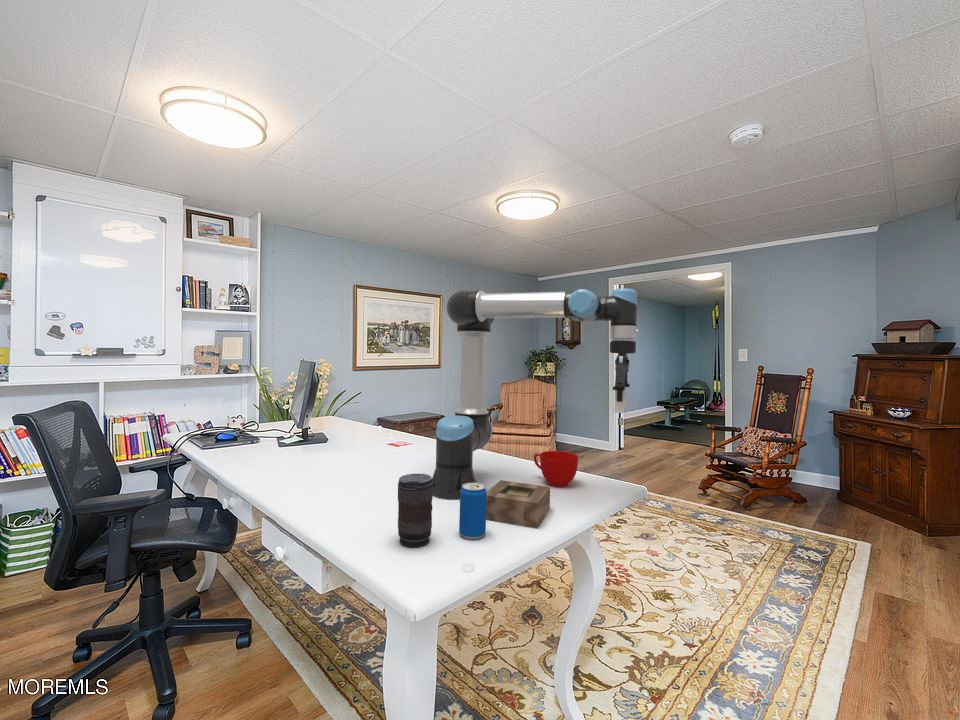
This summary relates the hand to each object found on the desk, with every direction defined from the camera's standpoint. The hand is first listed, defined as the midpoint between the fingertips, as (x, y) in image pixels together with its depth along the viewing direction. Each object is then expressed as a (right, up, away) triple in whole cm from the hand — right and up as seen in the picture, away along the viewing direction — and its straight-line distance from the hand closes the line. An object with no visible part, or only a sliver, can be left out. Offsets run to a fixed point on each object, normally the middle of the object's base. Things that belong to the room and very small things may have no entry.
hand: (620, 410), depth 133 cm
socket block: (-33, -27, -12) cm, 44 cm away
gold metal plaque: (-33, -23, -12) cm, 42 cm away
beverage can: (-45, -28, -27) cm, 59 cm away
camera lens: (-58, -27, -31) cm, 71 cm away
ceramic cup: (-17, -28, +18) cm, 37 cm away
